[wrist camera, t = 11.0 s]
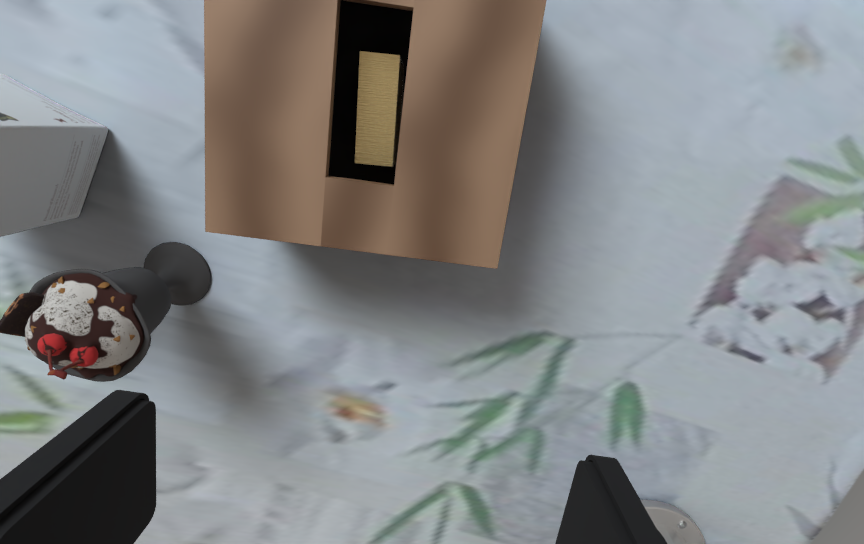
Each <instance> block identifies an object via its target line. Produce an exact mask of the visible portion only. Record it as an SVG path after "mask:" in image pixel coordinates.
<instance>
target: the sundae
mask: <svg viewBox="0 0 864 544" xmlns="http://www.w3.org/2000/svg"><path fill="white" fill-rule="evenodd" d="M210 281H211V275H210V270H209V267H208V265H207V263H206V261H205V260H204V258H203V257H202V256H201V254H199V253H198V252H197V251H196V250H194V249H193V248H191V247H190V246H187V245H185V244H181V243H177V242H169V243H162V244H160V245H158V246H156V247H155V248H153V249H152V250H151V251H150V252H149V254H148V255H147V257H146V259H145V263H144V268H141V267H134V268H126V269H118V270H113V271H109V272H105V273H101V272H97V271H94V270H84V269H76V270H67V271H62V272H57V273H53V274H51V275H49V276H47V277H45V278H43V279H42V280H40V281H39V282H37V283H36V284H35V285H34V286H33V287H32V289H31V290H30V292H29V293H24V294H21V295H19V296H18V297H17V298H16V299H15V301H14V302H13V303H12V304H11V305H10V307H9V308H8V309H7V311H6V312H5V314H4V315H3V317H2V319H1V320H0V333H5V334H10V335H17V336H23V337H25V341H26V343H27V345H28V350H31V352H32V353H33V354H34V355H35V356H36V357H37V358H39V359H40V360H42V361H44V362H45V363H47V364H48V365H49V369H50V372H49V373H48V375H55V376H57V377H60V378H62V379H65V378H66V376H67V374H69V375H73V376H76V377H80V378H84V379H88V380H92V381H102V382H105V381H114V380H116V379H118V378H121V377H123V376H125V375H126V374H128V373H130V372H131V371H132V370H133V369H134V368H135V367H136V366H137V365H138V364H139V363H140V362H141V361H142V359H143V358H144V357H145V355H146V353H147V351H148V349H149V347H150V342H151V336H150V334H151V332H152V331H153V330H154V329H155V328H156V327H157V326H158V325H159V324H160V323H161V321H162V320H163V318H164V317H165V315H166V314H167V313H168V311H169V309H170V306H171V303H172V304H176V305H188V304H192V303H195V302H197V301H198V300H200V299H202V298H203V296H204V295H205V294H206V293H207V291H208V290H209V286H210ZM53 367H54V368H55V369H57V370H54V369H53Z"/></svg>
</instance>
